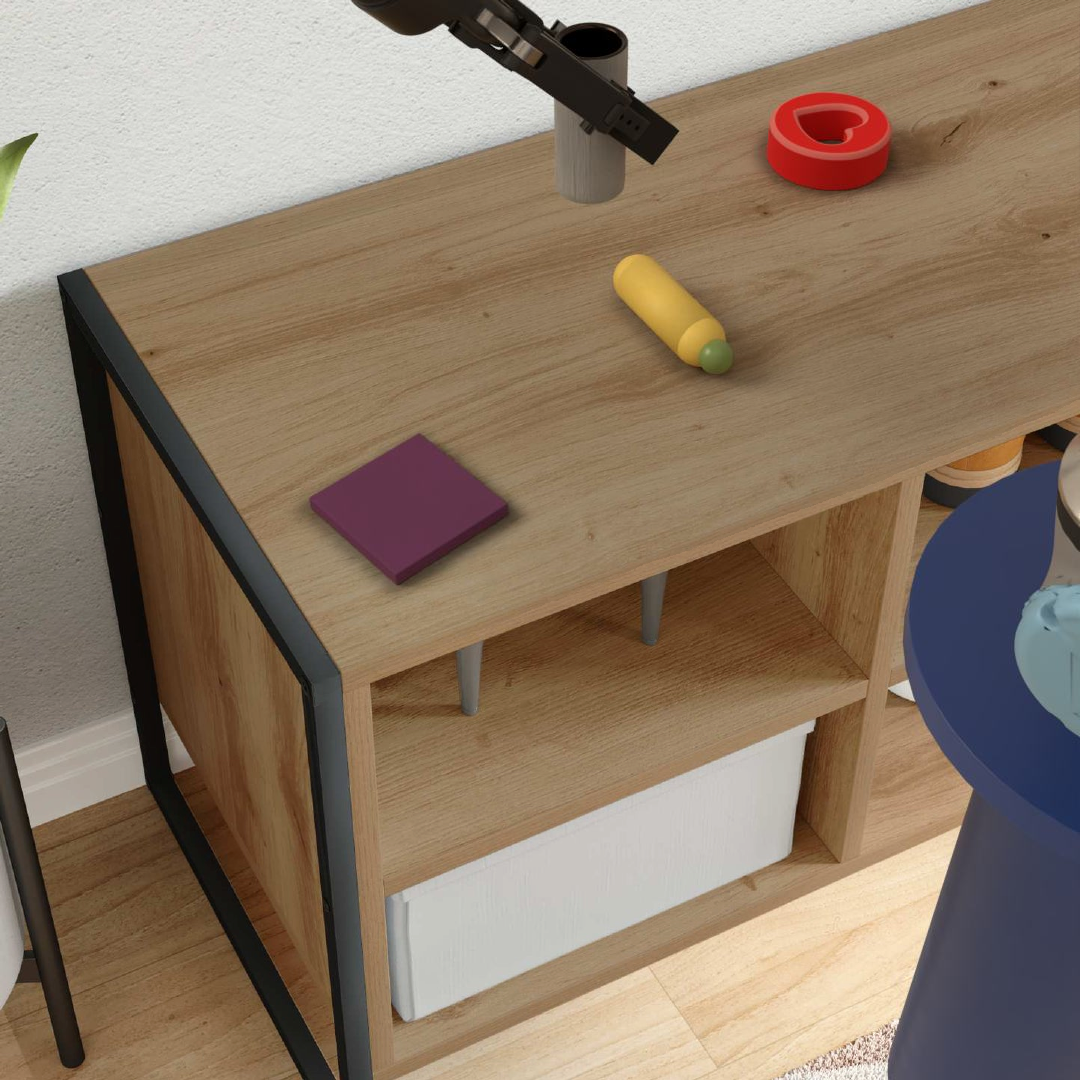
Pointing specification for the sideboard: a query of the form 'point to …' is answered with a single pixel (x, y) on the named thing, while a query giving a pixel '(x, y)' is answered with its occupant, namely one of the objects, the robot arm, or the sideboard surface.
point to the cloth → (408, 507)
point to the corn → (672, 313)
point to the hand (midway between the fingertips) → (640, 125)
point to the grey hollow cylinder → (580, 159)
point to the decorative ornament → (829, 120)
